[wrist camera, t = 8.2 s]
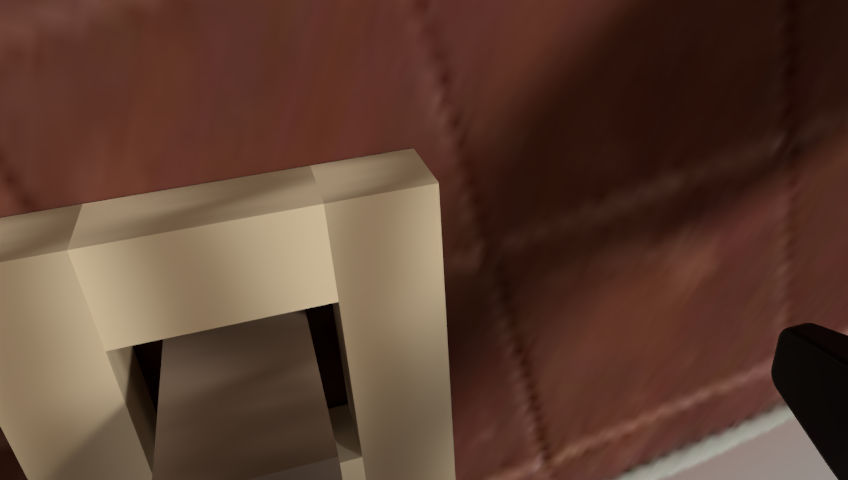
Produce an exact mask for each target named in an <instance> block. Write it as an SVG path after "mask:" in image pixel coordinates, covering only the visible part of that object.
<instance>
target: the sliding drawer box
mask: <svg viewBox="0 0 848 480" xmlns="http://www.w3.org/2000/svg"><path fill="white" fill-rule="evenodd" d="M152 480H343V479H342V473H341V467H340V461H339V456H338V451H337V447H336V443H335V438H334V434H333V429H332V425H331V421H330V416H329V412H328V408H327V403H326V399H325V395H324V390H323V386H322V381H321V377H320V373H319V368H318V364H317V360H316V355H315V351H314V346H313V342H312V338H311V333H310V329H309V325H308V320H307V316H306V312H305V309H303V310H299V311H294V312H289V313H284V314H280V315H275V316H270V317H265V318H261V319H256V320H251V321H247V322H242V323H237V324H232V325H228V326H223V327H218V328H213V329H209V330H204V331H199V332H195V333H190V334H185V335H180V336H176V337H171V338H166V339H163V347H162V360H161V372H160V385H159V398H158V411H157V424H156V437H155V449H154V462H153V475H152Z"/></svg>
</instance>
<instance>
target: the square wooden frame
mask: <svg viewBox="0 0 848 480" xmlns="http://www.w3.org/2000/svg"><path fill="white" fill-rule="evenodd" d="M327 304H332V305H333V311H334V318H335V324H336V330H337V337H338V343H339V349H340V355H341V362H342V368H343V374H344V381H345V387H346V393H347V400H348V404H345V405H341V406H337V407H333V408H329V409H328V412H329V416H330V421H331V425H332V429H333V434H334V438H335V443H336V447H337V451H338V456H339V461H340V467H341V473H342V479H343V480H455V462H454V444H453V426H452V409H451V391H450V373H449V356H448V338H447V320H446V302H445V285H444V267H443V249H442V232H441V214H440V196H439V183H438V181H437V180H436V179H435V177H434V176H433V174H432V173H431V172H430V170H429V169H428V168H427V166H426V165H425V163H424V162H423V161H422V159H421V158H420V157H419V155H418V154H417V152H416V151H415V150H414V148H413V149H407V150H401V151H395V152H389V153H383V154H377V155H371V156H365V157H359V158H353V159H347V160H341V161H335V162H329V163H324V164H318V165H312V166H306V167H300V168H294V169H288V170H282V171H276V172H270V173H264V174H258V175H252V176H246V177H240V178H234V179H229V180H223V181H217V182H211V183H205V184H199V185H193V186H187V187H181V188H175V189H169V190H163V191H157V192H151V193H145V194H139V195H134V196H128V197H122V198H116V199H110V200H104V201H98V202H92V203H86V204H80V205H74V206H68V207H62V208H56V209H50V210H44V211H39V212H33V213H27V214H21V215H15V216H9V217H3V218H0V427H1V429H2V431H3V433H4V434H5V436H6V438H7V440H8V442H9V444H10V446H11V448H12V450H13V452H14V454H15V456H16V458H17V460H18V462H19V463H20V465H21V467H22V469H23V471H24V473H25V475H26V477H27V479H28V480H152V475H153V462H154V449H155V437H156V424H157V414H156V411H155V408H154V405H153V402H152V399H151V397H150V394H149V391H148V388H147V385H146V382H145V380H144V377H143V374H142V371H141V368H140V365H139V363H138V360H137V357H136V354H135V351H134V348H133V345H138V344H143V343H147V342H152V341H157V340H161V339H166V338H171V337H176V336H180V335H185V334H190V333H195V332H199V331H204V330H209V329H213V328H218V327H223V326H228V325H232V324H237V323H242V322H247V321H251V320H256V319H261V318H265V317H270V316H275V315H280V314H284V313H289V312H294V311H299V310H303V309H308V308H313V307H317V306H322V305H327Z"/></svg>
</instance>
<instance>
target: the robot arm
mask: <svg viewBox="0 0 848 480" xmlns="http://www.w3.org/2000/svg"><path fill="white" fill-rule="evenodd" d="M771 375H772V380H773V382H774V385H775V387H776V389H777V390H778V392H779V393H780V395H781V396H782V398H783V399H784V401H785V402H786V404H787V405H788V407H789V408H790V410H791V411H792V413H793V414H794V416H795V417H796V419H797V420H798V421H799V423H800V425H801V426H802V428H803V429H804V430H805V432H806V433H807V435H808V437H809V438H810V439H811V441H812V442H813V444H814V445H815V447H816V448H817V450H818V451H819V453H820V454H821V456H822V457H823V459H824V460H825V462H826V463H827V465H828V466H829V467H830V469H831V470H832V472H833V473H834V475H835V476H836V477H837V479H838V480H848V336H847V335H844V334H842V333H839V332H836V331H833V330H831V329H828V328H825V327H822V326H819V325H817V324H813V323H804V324H800V325H796V326H792V327H788V328H786V329H784V330H783V331H782V332H781V333H780V335H779V338H778V343H777V347H776V351H775V356H774V360H773V364H772V369H771Z"/></svg>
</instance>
